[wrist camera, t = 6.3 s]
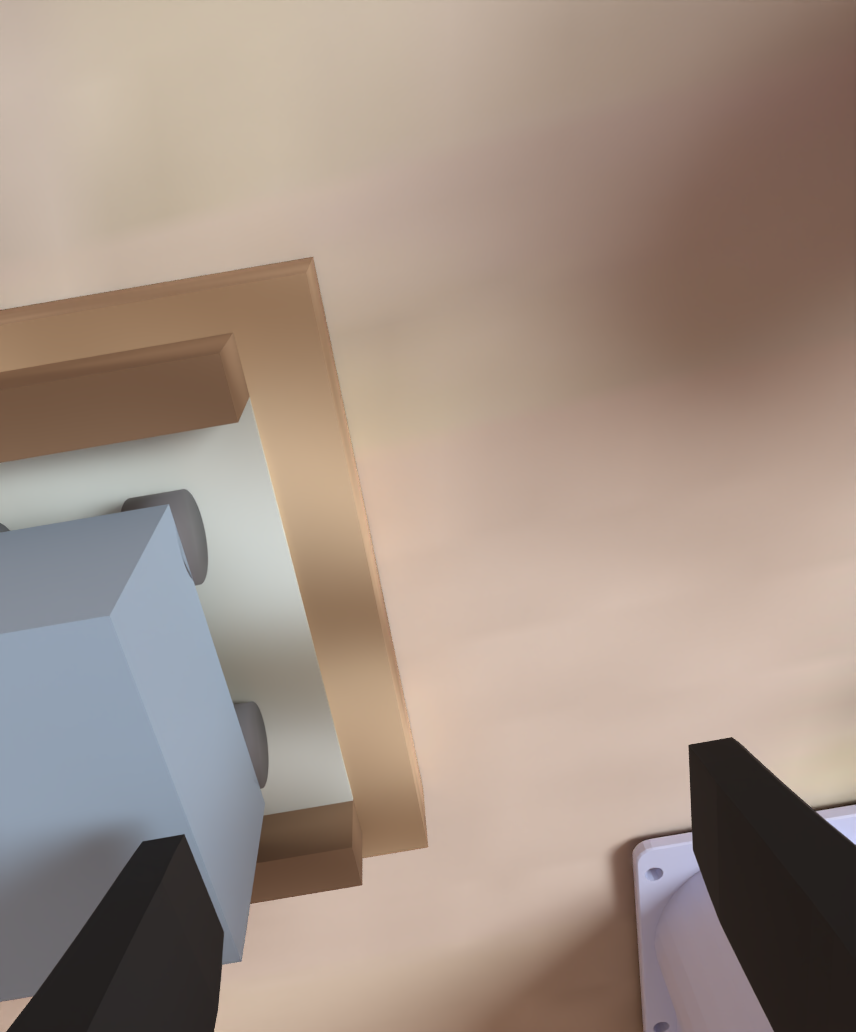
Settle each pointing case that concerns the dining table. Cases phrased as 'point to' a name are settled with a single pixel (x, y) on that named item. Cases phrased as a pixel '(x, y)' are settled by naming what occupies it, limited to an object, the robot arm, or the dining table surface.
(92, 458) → the dock
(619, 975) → the dining table surface
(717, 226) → the dining table surface
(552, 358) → the dining table surface
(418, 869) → the dining table surface
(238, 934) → the blue block with feet
